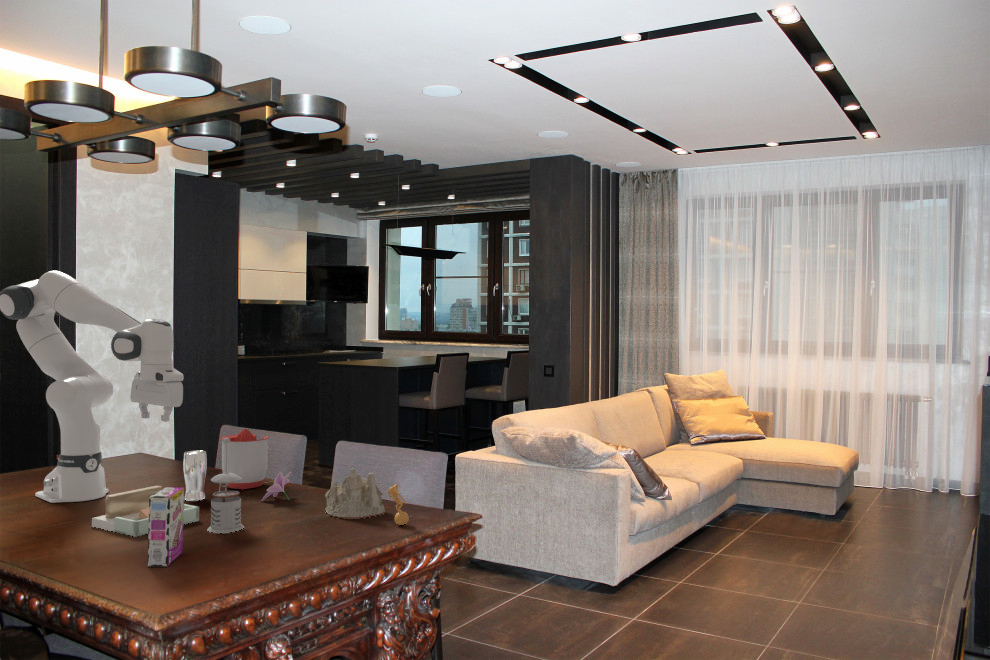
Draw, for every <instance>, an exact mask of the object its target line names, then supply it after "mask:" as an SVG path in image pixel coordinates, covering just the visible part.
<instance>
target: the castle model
mask: <svg viewBox="0 0 990 660" xmlns="http://www.w3.org/2000/svg"><path fill="white" fill-rule="evenodd" d="M383 495H384V493H382V491H380V488H379V487H378V486H377V483H376V476H375V473H374V472H368V474H367V478H365V477H361V474H360V473H358V471H357V470H356V468H355V467H351V470H350V473H349V475H348V476H344V480H343V482H342V484H339V483H338V482H337V481H333V482H332V485H331V487H330V488H329V490H327V491H326V493H325V494H324V497H325V498H326V507H325V509H324V511H325V510H326V512H327V513H328V514H330V515H333V516H338V517H363V516H369V515H375V514H380V513H383V512H385V513H386V510H385V506H384V504H383V498H382V496H383ZM326 512H325V513H326Z"/></svg>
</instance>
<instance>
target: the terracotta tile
mask: <svg viewBox="0 0 990 660" xmlns="http://www.w3.org/2000/svg"><path fill="white" fill-rule="evenodd" d="M139 517H140V518H141V519H147V518H149V508H148V509H143V510H140V513H139Z"/></svg>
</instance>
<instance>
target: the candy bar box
mask: <svg viewBox="0 0 990 660" xmlns="http://www.w3.org/2000/svg"><path fill="white" fill-rule="evenodd" d="M184 504H185V487H183V486H182V487H181V486H180V487H179V486H177V487H175V486H172V487H171V486H169V487H168V486H167V487H163V488H162V490H160V491H159V492H157V493H155V494H153V495H152V496H150V497H149V531H148V534H147V535H148V537H147V538H148V539H147V542H148V543H147V567H149V568H151V567H152V568H154V567H156V568H160V567H161V568H165V567H169V566H170V565H171V564H172V563H173V562H175V561H176V559H177V558H178V557H179V556H181V555H182V554H183V552H184V525H183V518H184Z"/></svg>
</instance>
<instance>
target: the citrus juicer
mask: <svg viewBox="0 0 990 660" xmlns="http://www.w3.org/2000/svg"><path fill="white" fill-rule="evenodd" d="M224 438H229V439H230V442H227V472H228V473H233V474H236V475H238V476H240V477H241V478H242V479H241V481H239V482H235V483H228V485H227V488H229V489H235V490H237V489H239V490H240V489H241V491H244V489H246V490H247V489H253V488H260V487H262V485H263V483H264V482H265V478H266V474H267V471H268V462H269V461H268V460H269V459H268V458H269V450H270V445H269V440H268V439H269V435H266V436H264V437H263V438H261V439H257V434H254V433H252V432H251V431H250V430H249V429H247V428H243V429H242V430H241V431H240V432H239V433H238V434H234V435H233V434H231V435H226V436H223V437H221V438H220V439H221V470H222V473H225V472H226V443H224V442H223V440H224Z"/></svg>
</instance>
